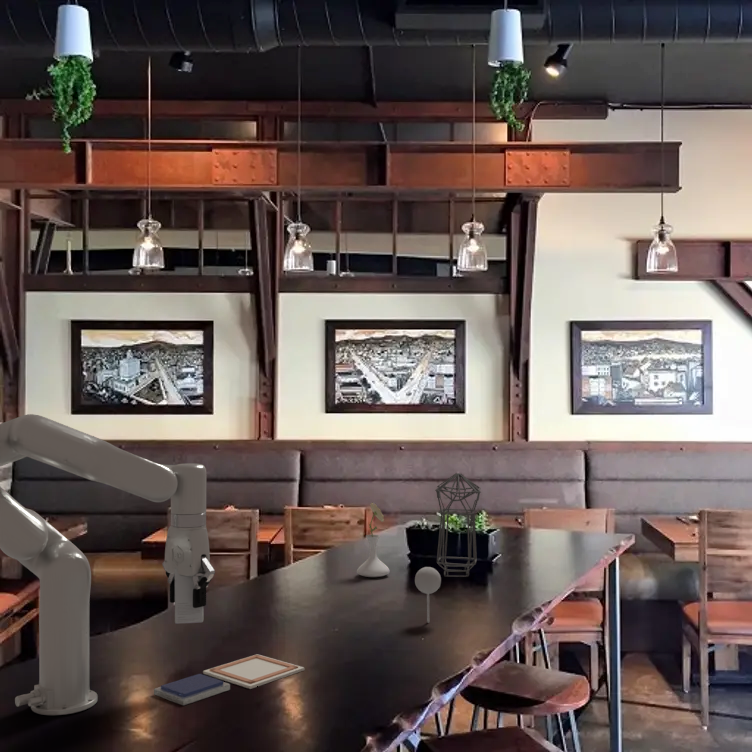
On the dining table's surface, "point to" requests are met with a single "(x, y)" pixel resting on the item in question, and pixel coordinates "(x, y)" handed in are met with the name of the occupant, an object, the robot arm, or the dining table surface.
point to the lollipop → (427, 583)
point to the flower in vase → (373, 552)
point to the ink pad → (191, 689)
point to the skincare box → (186, 600)
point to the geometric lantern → (475, 490)
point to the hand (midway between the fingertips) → (187, 603)
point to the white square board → (253, 671)
